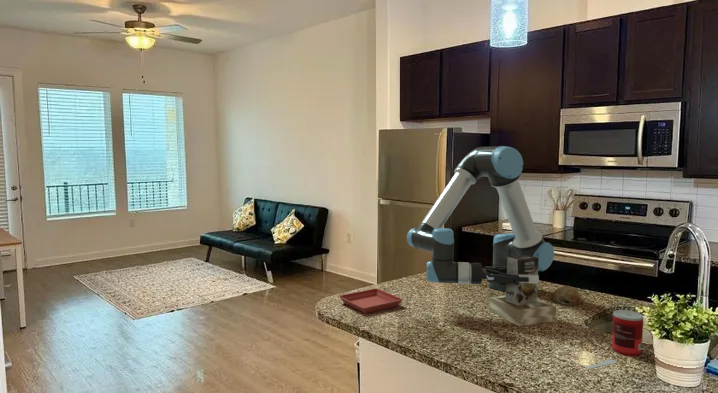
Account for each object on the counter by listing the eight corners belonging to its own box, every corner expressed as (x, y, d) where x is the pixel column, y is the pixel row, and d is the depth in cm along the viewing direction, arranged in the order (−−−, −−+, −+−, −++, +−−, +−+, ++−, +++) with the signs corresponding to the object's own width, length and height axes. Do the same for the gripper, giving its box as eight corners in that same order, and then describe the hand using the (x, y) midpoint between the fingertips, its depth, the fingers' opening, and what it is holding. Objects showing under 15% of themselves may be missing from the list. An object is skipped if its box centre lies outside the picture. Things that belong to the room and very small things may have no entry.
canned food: (634, 346, 147) (635, 310, 146) (646, 357, 139) (648, 319, 138) (607, 345, 148) (608, 309, 147) (618, 356, 140) (620, 318, 139)
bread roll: (552, 311, 190) (552, 295, 187) (552, 293, 199) (553, 278, 195) (580, 314, 187) (581, 298, 183) (579, 296, 195) (580, 280, 191)
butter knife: (620, 362, 135) (611, 358, 138) (556, 380, 125) (547, 375, 128) (620, 364, 135) (610, 360, 138) (556, 381, 125) (547, 376, 128)
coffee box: (518, 306, 169) (520, 259, 167) (505, 301, 174) (506, 256, 173) (537, 302, 173) (539, 257, 172) (523, 297, 179) (525, 254, 177)
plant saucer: (363, 316, 175) (363, 307, 175) (338, 303, 190) (337, 295, 190) (403, 308, 185) (403, 299, 185) (376, 296, 200) (376, 288, 200)
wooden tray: (524, 306, 185) (524, 293, 184) (555, 321, 169) (556, 306, 168) (489, 310, 180) (489, 297, 179) (519, 326, 164) (519, 311, 163)
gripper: (467, 275, 187) (528, 278, 184) (472, 292, 165) (542, 295, 161) (467, 256, 186) (528, 258, 183) (473, 270, 164) (542, 272, 161)
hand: (535, 275), depth 172 cm, fingers closed on coffee box, 10 cm apart
